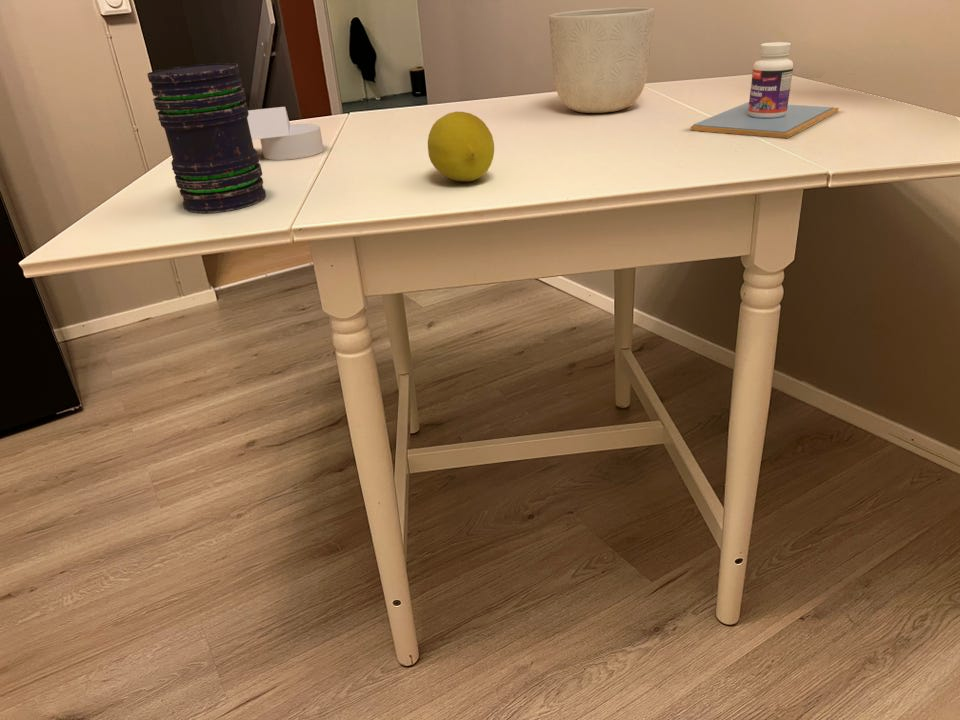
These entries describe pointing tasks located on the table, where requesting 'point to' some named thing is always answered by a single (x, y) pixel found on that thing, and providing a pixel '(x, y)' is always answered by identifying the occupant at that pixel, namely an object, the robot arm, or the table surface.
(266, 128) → the wedge on round base
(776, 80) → the pill bottle
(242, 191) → the storage jar
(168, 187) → the table surface
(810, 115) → the board
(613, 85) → the planter
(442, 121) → the lemon
